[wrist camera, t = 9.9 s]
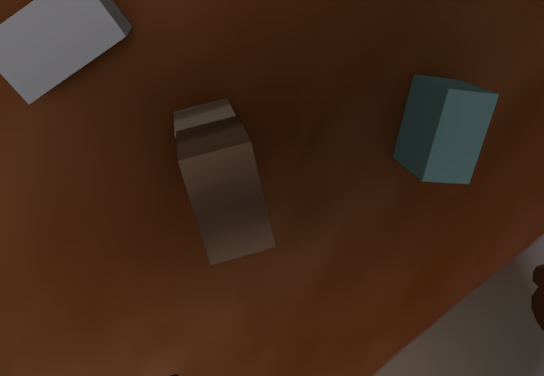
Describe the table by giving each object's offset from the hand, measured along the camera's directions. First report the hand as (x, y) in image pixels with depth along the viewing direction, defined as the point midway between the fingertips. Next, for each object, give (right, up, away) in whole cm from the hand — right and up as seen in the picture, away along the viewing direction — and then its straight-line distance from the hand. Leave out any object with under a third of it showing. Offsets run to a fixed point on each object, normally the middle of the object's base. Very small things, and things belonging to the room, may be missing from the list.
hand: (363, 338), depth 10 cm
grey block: (-14, +12, +16) cm, 24 cm away
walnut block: (-5, +4, +17) cm, 18 cm away
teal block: (+9, +8, +23) cm, 26 cm away
